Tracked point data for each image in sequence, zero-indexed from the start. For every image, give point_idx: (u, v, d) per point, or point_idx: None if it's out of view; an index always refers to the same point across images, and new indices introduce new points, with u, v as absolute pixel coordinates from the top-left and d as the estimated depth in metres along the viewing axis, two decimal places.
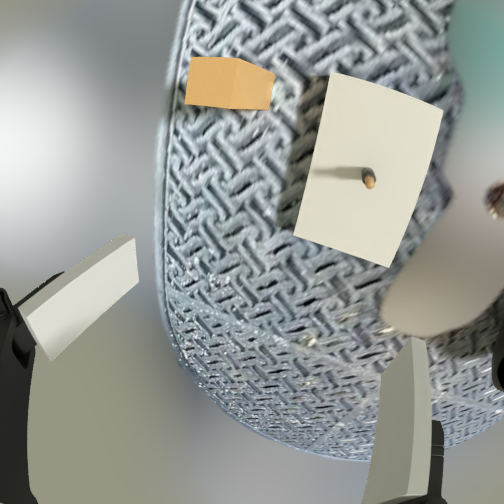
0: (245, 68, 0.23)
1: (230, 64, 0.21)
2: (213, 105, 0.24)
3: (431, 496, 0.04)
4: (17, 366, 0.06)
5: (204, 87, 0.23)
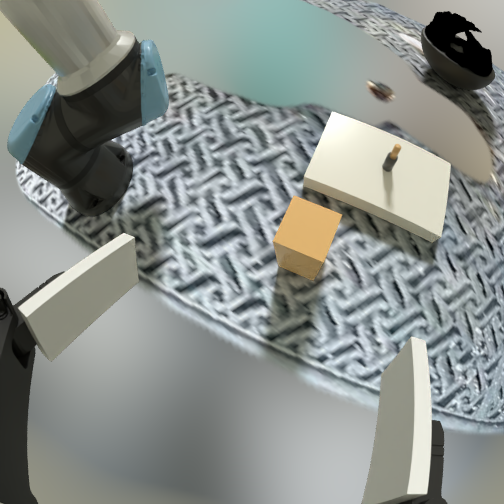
0: None
1: (298, 204, 0.27)
2: (334, 230, 0.26)
3: (431, 496, 0.04)
4: (17, 366, 0.06)
5: (313, 234, 0.26)
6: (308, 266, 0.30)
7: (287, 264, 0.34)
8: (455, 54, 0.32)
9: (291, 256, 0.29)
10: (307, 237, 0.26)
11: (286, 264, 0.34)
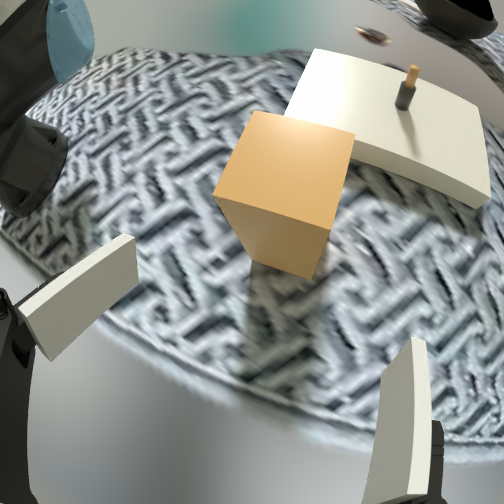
0: None
1: (263, 122, 0.12)
2: (346, 161, 0.11)
3: (431, 496, 0.04)
4: (17, 366, 0.06)
5: (300, 173, 0.11)
6: (298, 250, 0.15)
7: (262, 253, 0.19)
8: None
9: (261, 231, 0.14)
10: (288, 179, 0.11)
11: (261, 254, 0.20)
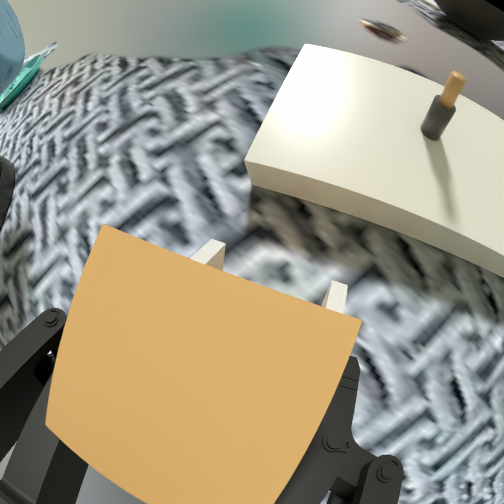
0: None
1: (112, 268, 0.05)
2: (311, 422, 0.04)
3: None
4: None
5: (183, 443, 0.04)
6: None
7: None
8: None
9: None
10: (156, 450, 0.04)
11: None
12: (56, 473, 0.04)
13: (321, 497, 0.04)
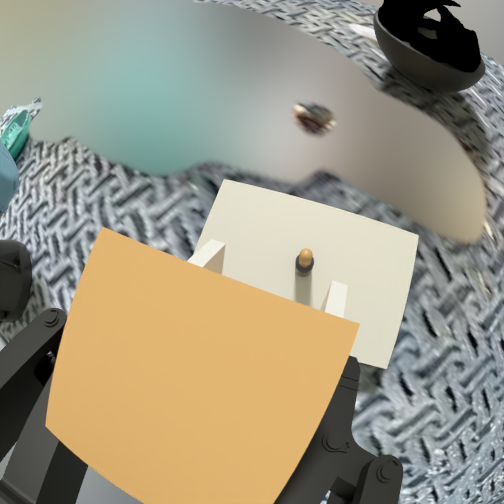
0: None
1: (111, 271, 0.05)
2: (309, 425, 0.04)
3: None
4: None
5: (182, 445, 0.04)
6: None
7: None
8: (425, 43, 0.23)
9: None
10: (155, 452, 0.04)
11: None
12: (56, 473, 0.04)
13: (321, 497, 0.04)
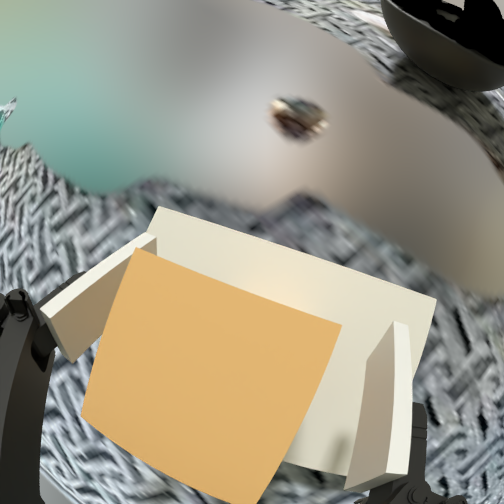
0: None
1: (146, 284, 0.06)
2: (304, 402, 0.05)
3: (414, 479, 0.05)
4: (35, 370, 0.07)
5: (206, 421, 0.05)
6: None
7: None
8: (448, 25, 0.15)
9: None
10: (183, 429, 0.05)
11: None
12: (10, 445, 0.04)
13: None
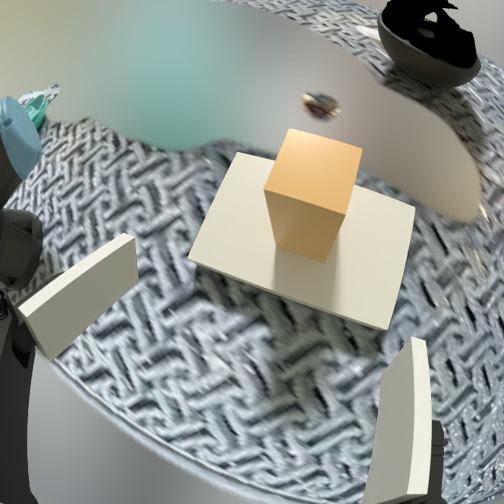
0: None
1: (296, 138, 0.17)
2: (355, 168, 0.16)
3: (431, 496, 0.04)
4: (17, 366, 0.06)
5: (324, 176, 0.16)
6: (319, 233, 0.20)
7: (288, 238, 0.24)
8: (424, 41, 0.26)
9: (293, 217, 0.19)
10: (316, 180, 0.16)
11: (286, 239, 0.24)
12: None
13: None
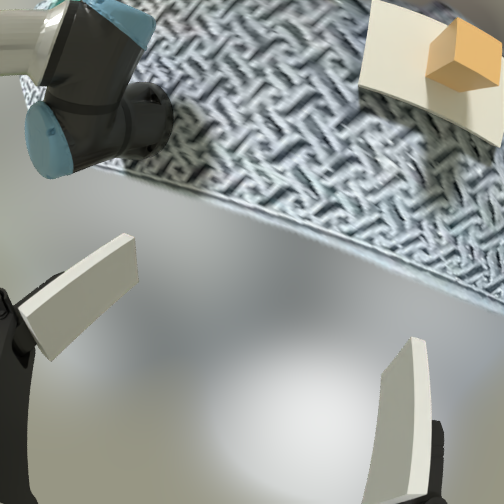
0: None
1: (464, 26, 0.11)
2: (500, 56, 0.11)
3: (431, 496, 0.04)
4: (17, 366, 0.06)
5: (485, 58, 0.12)
6: (472, 83, 0.17)
7: (442, 77, 0.20)
8: None
9: (460, 73, 0.16)
10: (481, 60, 0.12)
11: (441, 77, 0.20)
12: None
13: None
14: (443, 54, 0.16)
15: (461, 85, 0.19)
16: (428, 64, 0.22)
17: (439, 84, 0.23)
